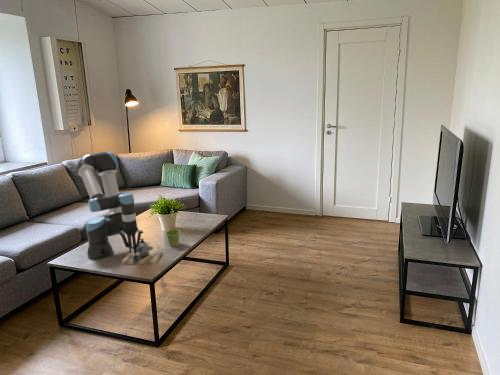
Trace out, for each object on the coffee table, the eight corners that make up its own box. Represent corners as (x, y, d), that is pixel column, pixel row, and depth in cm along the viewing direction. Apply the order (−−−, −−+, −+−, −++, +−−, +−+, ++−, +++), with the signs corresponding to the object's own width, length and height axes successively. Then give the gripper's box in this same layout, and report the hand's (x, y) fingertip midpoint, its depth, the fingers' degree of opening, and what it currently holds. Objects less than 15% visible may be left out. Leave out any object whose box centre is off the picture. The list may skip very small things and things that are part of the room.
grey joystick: (148, 227, 248) (133, 229, 246) (149, 232, 239) (132, 234, 236) (150, 244, 252) (135, 246, 249) (151, 250, 242) (135, 252, 240)
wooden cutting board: (122, 263, 225) (122, 260, 224) (131, 253, 238) (130, 250, 238) (156, 263, 223) (155, 260, 223) (162, 253, 237) (162, 250, 236)
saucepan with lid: (138, 252, 234) (136, 241, 232) (150, 252, 234) (149, 241, 232) (128, 264, 219) (127, 252, 217) (142, 264, 218) (140, 252, 216)
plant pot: (182, 246, 247) (180, 233, 245) (167, 248, 244) (166, 235, 242) (180, 240, 256) (179, 228, 253) (166, 242, 253) (165, 230, 251)
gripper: (115, 222, 212) (121, 261, 218) (139, 221, 212) (143, 260, 218) (119, 218, 219) (124, 255, 225) (142, 217, 220) (146, 254, 226)
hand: (134, 257), depth 222 cm, fingers closed
